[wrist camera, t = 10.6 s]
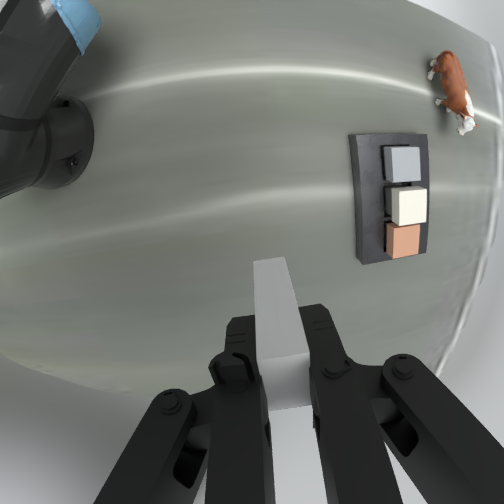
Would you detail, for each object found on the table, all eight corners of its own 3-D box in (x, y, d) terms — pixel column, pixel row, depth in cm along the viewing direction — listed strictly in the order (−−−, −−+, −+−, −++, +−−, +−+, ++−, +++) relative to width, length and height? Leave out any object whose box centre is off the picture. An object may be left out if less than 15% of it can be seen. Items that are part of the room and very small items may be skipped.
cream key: (381, 184, 36) (399, 191, 31) (407, 181, 35) (426, 189, 30) (382, 214, 37) (399, 225, 33) (408, 211, 37) (426, 221, 32)
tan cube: (378, 217, 39) (393, 228, 34) (403, 214, 39) (420, 224, 34) (378, 245, 41) (392, 258, 36) (402, 241, 41) (418, 253, 36)
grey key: (374, 145, 35) (391, 147, 30) (400, 144, 35) (419, 147, 30) (377, 176, 37) (393, 182, 32) (402, 174, 36) (420, 180, 32)
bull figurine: (435, 133, 34) (466, 136, 27) (420, 55, 29) (449, 46, 21) (453, 133, 34) (484, 136, 26) (439, 58, 28) (468, 51, 21)
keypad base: (348, 135, 35) (356, 135, 32) (416, 133, 34) (426, 134, 32) (356, 256, 42) (362, 265, 40) (417, 245, 42) (426, 252, 39)
